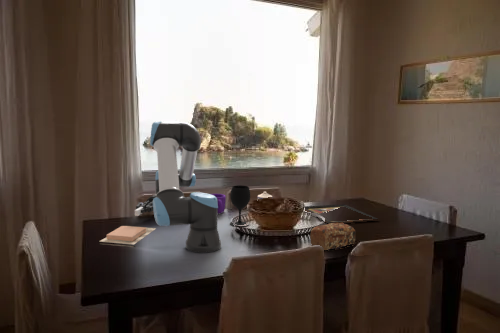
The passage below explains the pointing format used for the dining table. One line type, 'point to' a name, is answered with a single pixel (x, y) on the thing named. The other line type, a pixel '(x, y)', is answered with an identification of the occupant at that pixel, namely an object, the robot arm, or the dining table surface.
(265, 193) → the teacup with lid
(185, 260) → the dining table surface
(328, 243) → the bread
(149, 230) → the board
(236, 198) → the wine glass
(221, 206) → the mug
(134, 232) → the tile
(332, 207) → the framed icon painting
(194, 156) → the robot arm
